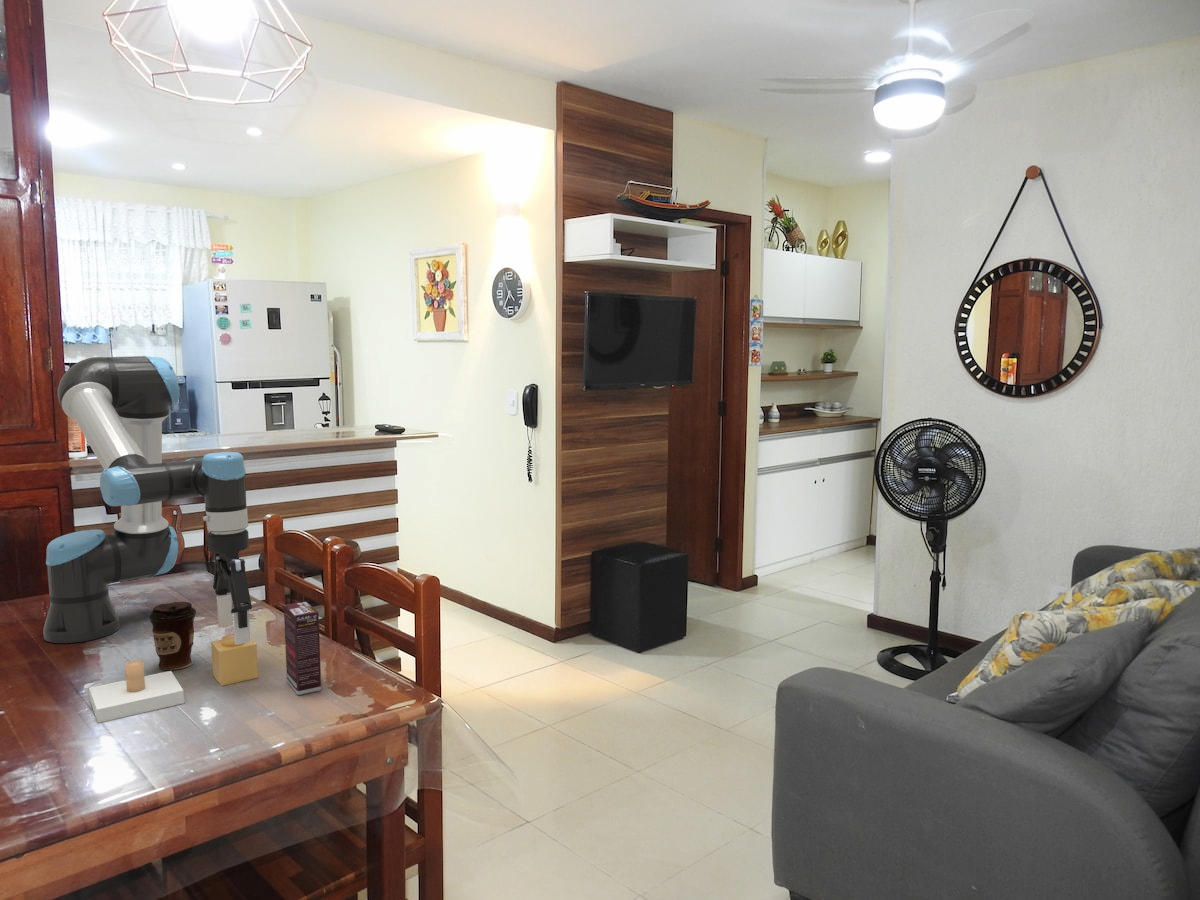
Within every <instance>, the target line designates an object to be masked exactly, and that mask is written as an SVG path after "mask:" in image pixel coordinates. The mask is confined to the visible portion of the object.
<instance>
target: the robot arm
mask: <svg viewBox="0 0 1200 900" xmlns="http://www.w3.org/2000/svg"><path fill="white" fill-rule="evenodd" d="M176 374H177V373H176V372H175V370H174V368H173V366H172V365H171V363H170V362H169V361H168V360H167V359H165V358H163V357H160V356H158V357H157V356H146V355H142V356H141V355H140V356H137V355H136V356H108V357H107V356H106V357H105V356H95V357H94V356H93V357H89V358H84V359H81V360H80V361H78V362H76V363H75V364H73V365H72V366H71V367H69V368H68V369H67V370H66V371H65V372H64V373H63V376H61V377H62V378H61V379H60V380H59V384H58V387H57V399H58V403H59V406H60V407H61V409H62V411H63V412H64V414H65V415H66V416H67V417H68V418H70V419H72V420H75V423H76V424H77V426H78V427H79V429H80V431H81V432H82V434H83V436H84V438H85V440H86V441H87V444H88V445H89V447H90V448H91V450H92V452H93V453H94V455H95V456H96V459H97V460H98V462H99V463H100V465H101V467H102V469H103V471H102V472H101V473H100V477H99V478H100V479H99V487H100V493H101V496H102V500H103V502H104V503H105V504H107V505H108V506H109V507H120V518H119V519H118V520H116V521H115V523H114V524H113V533H109V534H106V533H105V531H104V530H103V529H98V528H97V529H93V528H92V529H86V530H85V529H84V530H80V531H75V532H70V533H67V534H64V535H61V536H59V537H56V538H54V539H53V540H51V541H50V542H49V543H48V545H47V547H46V559H45V565H46V567H47V578H48V579H47V580H48V589H49V590H48V591H49V601H50V602H49V608H48V612H47V614H46V619H45V622H44V626H43V632H42V633H43V640H45V641H46V642H49V643H52V644H53V643H54V644H55V643H56V644H72V643H80V642H81V643H82V642H87V641H93V640H96V639H100V638H104V637H106V636H109V635H111V634H114V633H115V632H117V631H119V629H120V627H121V625H120V617H119V615H118V612H117V611H116V610H117V609H115V606H114V604H113V602H112V600H111V598H110V593H109V591H110V590H109V585H111V584H116V583H122V582H127V581H133V580H138V579H144V578H153V577H155V576H159V575H163V574H166V573H168V572H170V570H172V569H173V568H174V566H175V564H176V561H177V558H178V554H179V542H178V536H177V535H178V534H177V532H176V529H175V528H174V527H172V526H170V524H169V521H168V520H167V519H166V518H164V517H163V516H162V511H163V510H162V507H163V504H162V502H165V501H175V500H182V499H189V498H191V499H192V498H198V497H199V498H200V497H202V498H203V497H204V509H205V510H204V511H205V514H206V515H205V516H203V517H202V521H203V522H206V530H207V531H208V533H207V534H206V541H207V550H208V551H209V553H212V554H214V566H213V567H214V568H213V569H214V570H213V571H214V572H213V584H212V585H213V586H212V588H213V590H214V592H215V594H216V610H217V612H216V613H217V627H218V628H222V627H223V628H224V627H228V626H233V632H234V633H233V634H234V637H235V645H238V644H243V643H248V642H250V638H251V631H250V630H251V629H250V627H251V626H250V613H249V611H250V610H252V608H253V605H252V602H251V595H250V589H249V584H248V579H247V578H248V577H247V573H246V560H245V559H244V558H240V554H239V553H240V552H241V551H244V550H246V549H248V548H249V546H250V540H249V539H250V538H249V531H248V529H247V528H248V527H249V517H248V507H247V490H246V489H247V487H246V472H247V471H246V468H245V462H244V456H243V455H242V453H240V452H236V451H233V452H232V451H220V452H219V451H218V452H211V453H206V454H205V455H204V456H203V457H197V458H194V457H193V458H189V459H186V460H184V461H174V462H171V461H170V462H163V459H162V458H163V456H162V455H163V454H162V453H163V452H162V450H163V440H162V439H163V422H164V420H165V419H167V418H168V417H169V416H170V407H171V408H173V407H174V406H176V405H178V403H179V399H180V387H179V386H180V385H179V382H178V377H177V375H176Z"/></svg>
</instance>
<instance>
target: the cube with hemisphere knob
mask: <svg viewBox="0 0 1200 900" xmlns="http://www.w3.org/2000/svg"><path fill="white" fill-rule="evenodd" d="M210 644H211V646H210V647H211V648H210V649H211V660H212V661H211V665H212V676H213V677H214V678H215V680H216V681H217V683H218V684H219V685H220V686H221V687H222V686H226V685H231V684H236V683H239V682H246V681H248V680H255V679H258V678H259V670H258V669H259V667H258V650H257V649H258V646H257V645H258V644H257V643H256V642H255V640H253V639H252V638H251V637H250V642H248V643H243V644H238V645H235V637H234V633H230V634H227V635H224V636H222V637H221V639H218V640H213V641H211V642H210Z"/></svg>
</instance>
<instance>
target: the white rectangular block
mask: <svg viewBox="0 0 1200 900" xmlns="http://www.w3.org/2000/svg"><path fill="white" fill-rule="evenodd" d="M144 664H145V663H144V661H143V660H132V661H128V662H126V663H125V665H124V668H125V669H124V670H125V680H124V679H123V680H121V681H116V682H110V683H106V684H101V685H96V686H91V687H89V688H88V690H89V701H90V704H91V707H92V710H93V713H94V715H95V719H96V722H97V724H100V723H104V722H108V721H112V720H117V719H122V718H127V717H130V716H135V715H139V714H143V713H148V712H152V711H155V710H160V709H165V708H170V707H173V706H177V705H183V704H185V694H184V689H183V688H182V686H181V684H180V682H179V681H178V679H177V678H176V676H175V675H174V673H173V672H172V671H173V670H167V671H163V672H158V673H154V674H149V675H145V666H144Z"/></svg>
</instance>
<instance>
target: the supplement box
mask: <svg viewBox="0 0 1200 900" xmlns="http://www.w3.org/2000/svg"><path fill="white" fill-rule="evenodd" d="M283 617H284V618H283V619H284V620H283V621H284V622H283V623H284V636H285V637H284V640H285V641H284V642H285V643H284V645H285V664H286V665H285V666H286V668H285V669H286V682H287V684H288V685H289V686H290V687H291V689H292V690H293V691H294V692H295V694H296V695H297V696H301V695H306V694H312V693H316V692H320V691H322V675H321V674H322V672H321V670H322V668H321V645H320V643H321V642H320V621H319V620H320V615H319V611H318V610H317V609H315V607H313V606H312V605H311V604H310V603H309V602H308V601H302V602H301V601H299V602H294V603H288V604H284V605H283Z"/></svg>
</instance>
